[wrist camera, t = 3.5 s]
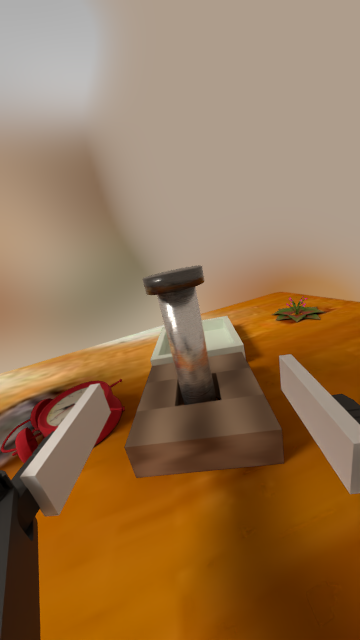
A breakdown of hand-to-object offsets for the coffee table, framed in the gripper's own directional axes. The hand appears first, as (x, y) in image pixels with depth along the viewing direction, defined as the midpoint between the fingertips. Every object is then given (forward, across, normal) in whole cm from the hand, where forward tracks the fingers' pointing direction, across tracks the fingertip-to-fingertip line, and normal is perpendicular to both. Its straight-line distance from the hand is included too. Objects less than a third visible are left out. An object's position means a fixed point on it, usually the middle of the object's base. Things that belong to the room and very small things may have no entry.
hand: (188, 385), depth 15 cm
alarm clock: (+9, -19, -11) cm, 23 cm away
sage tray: (+26, 0, -10) cm, 28 cm away
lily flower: (+36, +25, -11) cm, 45 cm away
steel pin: (+8, 0, -10) cm, 13 cm away
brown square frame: (+8, 0, -10) cm, 13 cm away
